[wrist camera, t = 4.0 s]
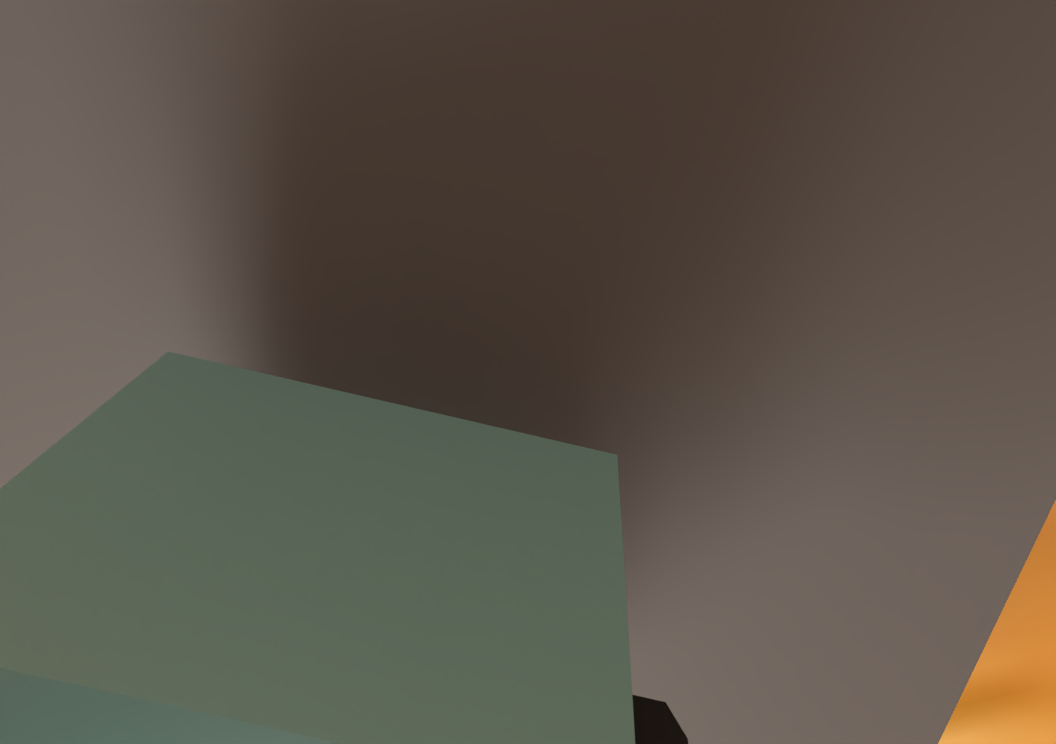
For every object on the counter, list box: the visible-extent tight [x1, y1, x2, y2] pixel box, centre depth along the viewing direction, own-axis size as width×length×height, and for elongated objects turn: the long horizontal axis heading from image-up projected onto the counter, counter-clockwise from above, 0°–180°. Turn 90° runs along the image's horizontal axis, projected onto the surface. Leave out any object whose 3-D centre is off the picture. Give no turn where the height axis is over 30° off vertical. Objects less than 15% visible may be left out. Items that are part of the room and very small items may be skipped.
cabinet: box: [0, 0, 1056, 744], centre depth 18 cm, size 16×18×9 cm
